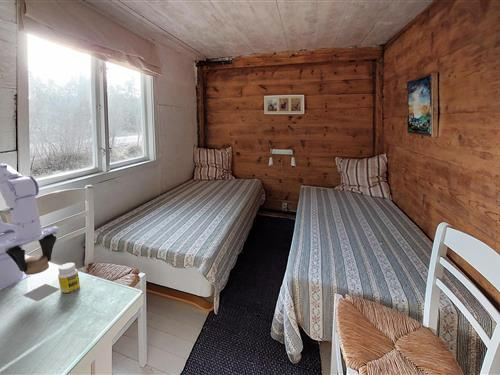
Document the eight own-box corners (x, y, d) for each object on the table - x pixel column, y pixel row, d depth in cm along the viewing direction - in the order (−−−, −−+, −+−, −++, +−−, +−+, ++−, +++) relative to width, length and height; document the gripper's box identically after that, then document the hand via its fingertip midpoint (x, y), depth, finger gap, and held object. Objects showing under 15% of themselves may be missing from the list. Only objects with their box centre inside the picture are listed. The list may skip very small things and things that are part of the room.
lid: (19, 272, 75) (17, 262, 74) (41, 263, 80) (39, 253, 79) (32, 276, 73) (29, 266, 72) (53, 266, 78) (51, 256, 77)
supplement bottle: (71, 297, 76) (66, 271, 74) (57, 295, 77) (52, 269, 75) (84, 287, 81) (80, 262, 79) (71, 285, 82) (66, 261, 80)
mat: (23, 296, 77) (22, 294, 76) (45, 285, 82) (45, 283, 82) (38, 302, 74) (37, 300, 74) (60, 290, 79) (59, 289, 79)
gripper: (2, 232, 65) (13, 281, 68) (63, 214, 78) (70, 256, 81) (-14, 228, 67) (-2, 276, 71) (48, 211, 80) (55, 252, 84)
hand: (36, 265), depth 76 cm, fingers closed on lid, 6 cm apart
